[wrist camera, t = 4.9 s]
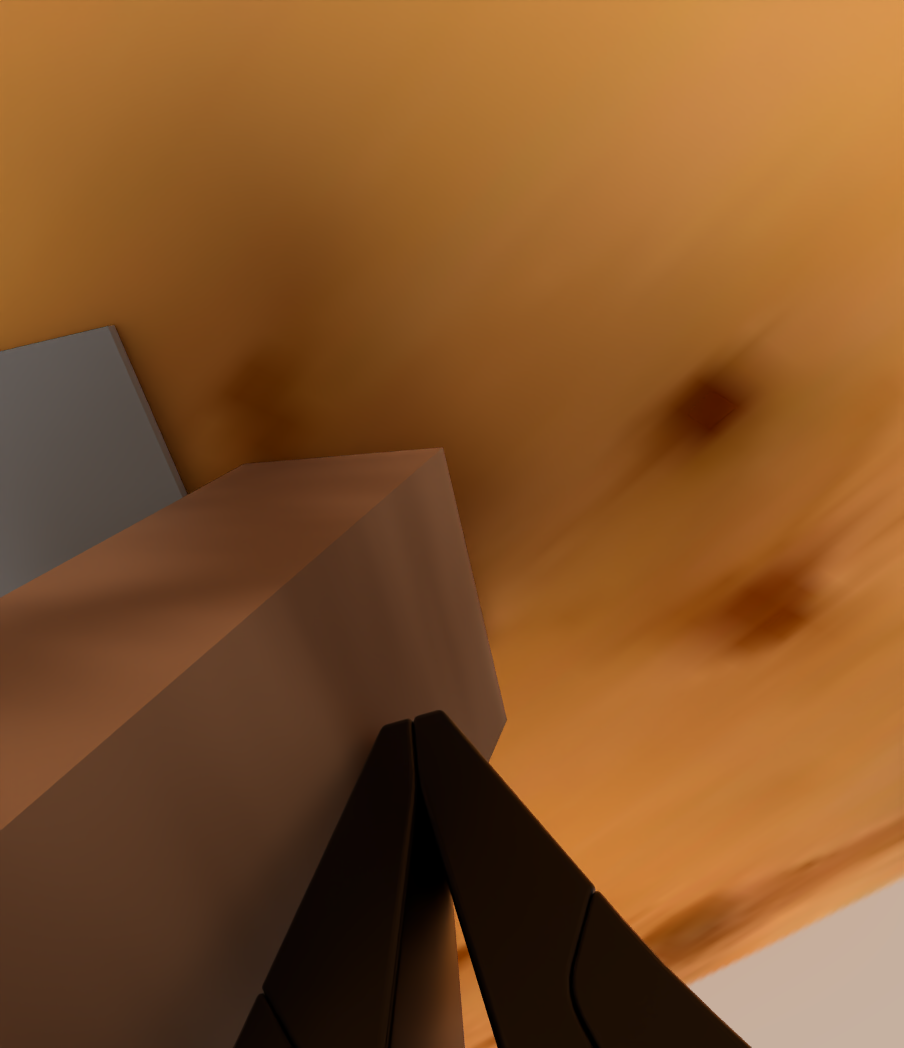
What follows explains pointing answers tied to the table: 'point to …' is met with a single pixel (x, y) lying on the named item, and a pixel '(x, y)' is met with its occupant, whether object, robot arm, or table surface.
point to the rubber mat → (74, 452)
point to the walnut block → (214, 734)
